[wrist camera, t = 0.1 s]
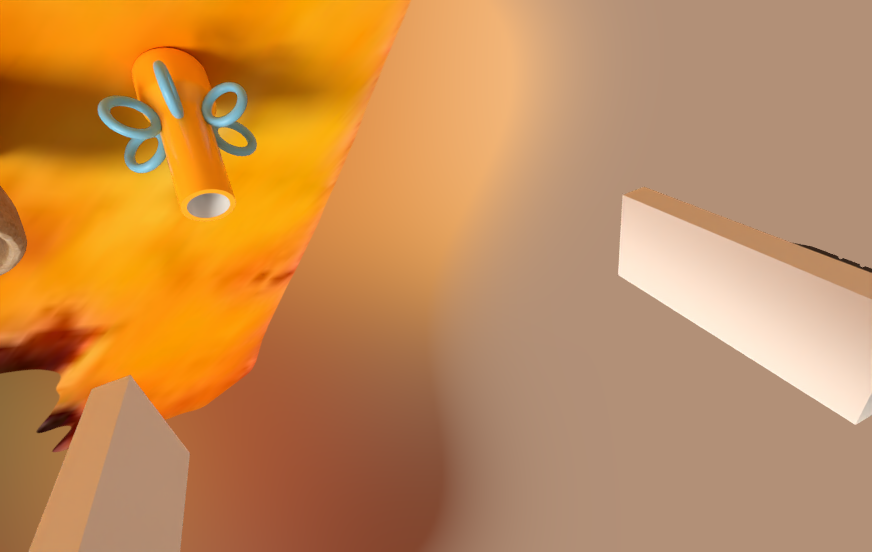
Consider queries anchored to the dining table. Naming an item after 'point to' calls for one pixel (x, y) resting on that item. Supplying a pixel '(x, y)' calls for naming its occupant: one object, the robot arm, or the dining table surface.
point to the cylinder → (183, 129)
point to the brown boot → (10, 234)
